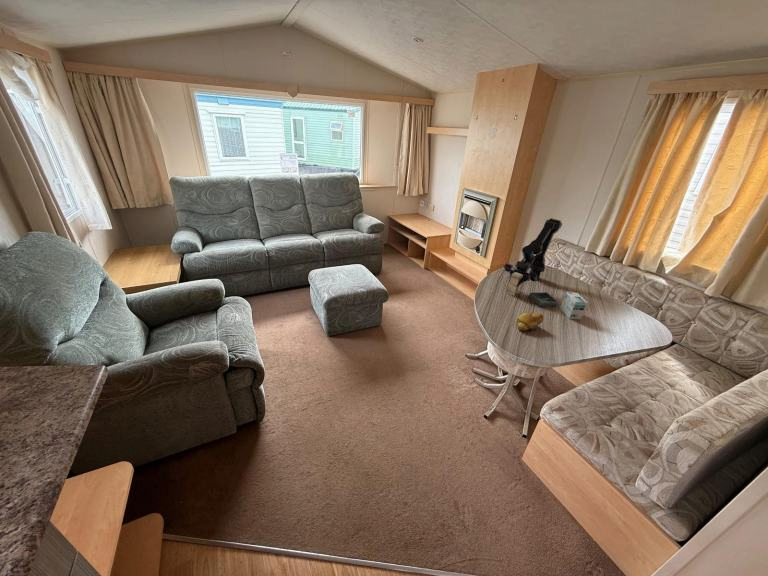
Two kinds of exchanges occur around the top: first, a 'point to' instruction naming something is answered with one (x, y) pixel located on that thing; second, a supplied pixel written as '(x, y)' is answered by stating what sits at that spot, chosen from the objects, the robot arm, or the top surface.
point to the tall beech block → (514, 284)
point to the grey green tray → (543, 299)
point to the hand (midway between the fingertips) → (513, 284)
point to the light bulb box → (573, 305)
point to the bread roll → (529, 321)
